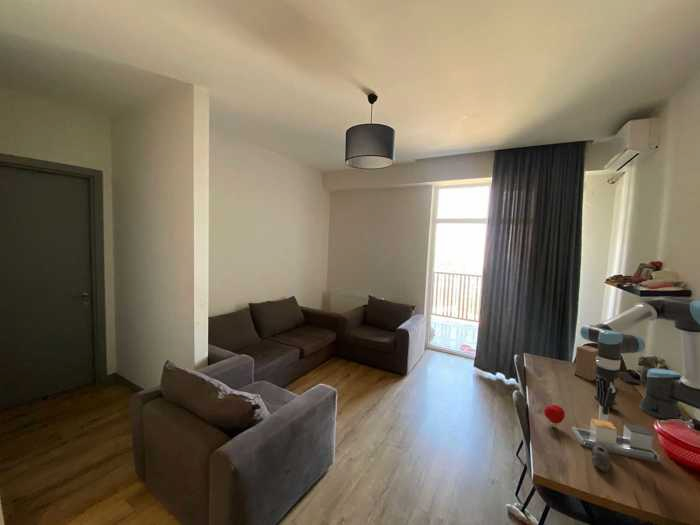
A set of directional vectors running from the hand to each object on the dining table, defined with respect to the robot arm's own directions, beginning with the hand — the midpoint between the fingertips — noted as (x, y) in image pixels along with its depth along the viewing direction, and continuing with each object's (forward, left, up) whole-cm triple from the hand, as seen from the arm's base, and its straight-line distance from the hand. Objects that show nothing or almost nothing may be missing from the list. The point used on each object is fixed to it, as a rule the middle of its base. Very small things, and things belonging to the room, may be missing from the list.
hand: (602, 419), depth 124 cm
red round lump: (+16, -6, -11) cm, 20 cm away
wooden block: (-24, -79, -11) cm, 83 cm away
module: (0, 0, -10) cm, 10 cm away
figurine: (-17, -38, -11) cm, 43 cm away
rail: (-4, 0, -11) cm, 12 cm away
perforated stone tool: (+6, +14, -11) cm, 19 cm away
